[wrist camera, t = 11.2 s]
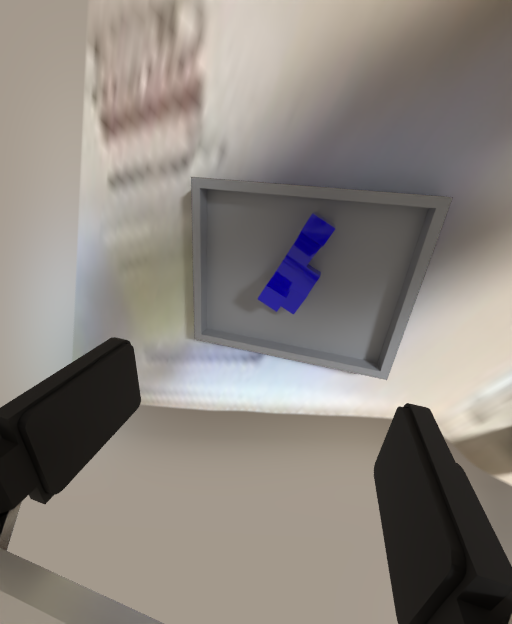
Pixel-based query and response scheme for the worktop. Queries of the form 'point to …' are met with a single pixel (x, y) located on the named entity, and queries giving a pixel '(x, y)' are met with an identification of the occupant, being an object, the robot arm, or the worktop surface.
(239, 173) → the worktop surface
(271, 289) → the cable holder
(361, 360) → the tray
